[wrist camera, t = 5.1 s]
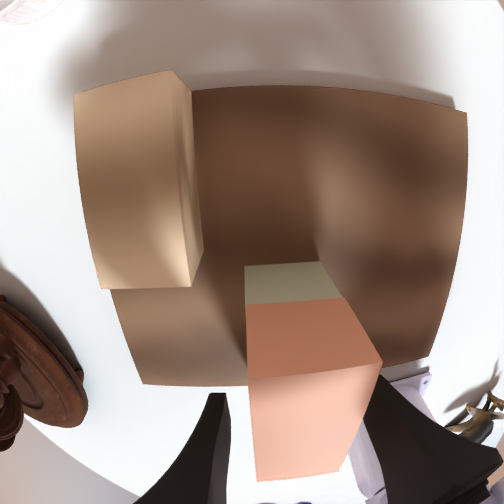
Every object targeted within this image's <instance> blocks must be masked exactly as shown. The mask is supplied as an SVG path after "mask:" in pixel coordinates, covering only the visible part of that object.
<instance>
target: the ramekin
mask: <svg viewBox="0 0 504 504" xmlns="http://www.w3.org/2000/svg"><path fill="white" fill-rule="evenodd" d="M63 1H64V0H0V21H3V22H8V23H13V24H28V23H31V22H34V21H36V20H38V19H40V18H42V17H43V16H45V15H46V14H48V13H49V12H51V11H52V10H53V9H55V8H56V7H57V6H58V5H59V4H61V3H62V2H63Z"/></svg>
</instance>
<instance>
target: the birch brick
mask: <svg viewBox="0 0 504 504" xmlns="http://www.w3.org/2000/svg"><path fill="white" fill-rule="evenodd" d="M74 132H75V148H76V160H77V170H78V178H79V186H80V193H81V200H82V206H83V212H84V218H85V223H86V228H87V233H88V238H89V243H90V247H91V252H92V256H93V260H94V264H95V268H96V272H97V276H98V280H99V283H100V287H101V289H137V288H170V287H191V286H192V283H193V280H194V277H195V274H196V271H197V268H198V265H199V263H200V260H201V257H202V254H203V252H204V246H203V237H202V228H201V218H200V208H199V197H198V186H197V174H196V161H195V148H194V132H193V115H192V94H191V90H190V89H189V88H188V87H187V86H186V85H185V84H184V83H183V82H182V81H181V79H180V78H179V77H178V76H177V75H176V74H175V73H174V72H173V71H172V70H167V71H162V72H157V73H152V74H147V75H142V76H138V77H133V78H129V79H125V80H121V81H117V82H114V83H110V84H107V85H103V86H100V87H97V88H93V89H90V90H87V91H84V92H81V93H78V94H75V95H74Z"/></svg>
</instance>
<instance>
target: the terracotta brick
mask: <svg viewBox="0 0 504 504" xmlns="http://www.w3.org/2000/svg"><path fill="white" fill-rule="evenodd" d="M246 335H247V374H248V389H249V401H250V412H251V423H252V435H253V445H254V456H255V466H256V477H257V481H273V480H284V479H293V478H301V477H309V476H315V475H321V474H327V473H332V472H337V471H339V469H340V467H341V465H342V463H343V461H344V459H345V457H346V455H347V453H348V451H349V449H350V447H351V445H352V442H353V440H354V438H355V436H356V433H357V431H358V429H359V426H360V424H361V422H362V419H363V417H364V414H365V412H366V409H367V406H368V404H369V401H370V399H371V396H372V393H373V390H374V387H375V385H376V382H377V379H378V376H379V373H380V369H381V366H382V363H383V361H382V359H381V358H380V356H379V354H378V352H377V351H376V349H375V347H374V345H373V344H372V342H371V340H370V339H369V337H368V335H367V333H366V332H365V330H364V328H363V327H362V325H361V323H360V322H359V320H358V318H357V317H356V315H355V313H354V312H353V310H352V309H351V307H350V305H349V304H348V302H347V300H346V299H345V297H342V298H331V299H320V300H308V301H296V302H281V303H266V304H248V305H246Z"/></svg>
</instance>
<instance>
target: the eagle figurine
mask: <svg viewBox="0 0 504 504" xmlns="http://www.w3.org/2000/svg"><path fill="white" fill-rule="evenodd" d="M491 402H493V403H494V404H493V405H492V407H491V408H490V409H489V406H490V403H491ZM496 407H498V408H499V409H500V410H501V411H503V409H504V401H503V400H501V399H498V398H497V397H495V396H494V395H492V393H491V391H489V392H488V397H487V402H486V404H485V405H484V407H483V409H479V408H473V407H470V406H468V404H467V405H466V408H467V411H468V413H470V414H471V415H472V416H473V417H472V418H471V419H470V420H468V421H467V422H464V423H461V424H458V425H454V426H449V427H445V429H447V430H449V431H453V432H462V431H463V432H462V433H460V434H459V436H461V437H463V438H465V439H468V440H470V441H473V442H475V443H478V444H481V443H482V442H483V441H484V440H485V439H486V438H487V437H488V436H489V435H490V434H491V432H492V430H493V425H494V423H493V421H492V420H494V419H503V418H504V414H502V413H500V412H494V410H495V409H496Z"/></svg>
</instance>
